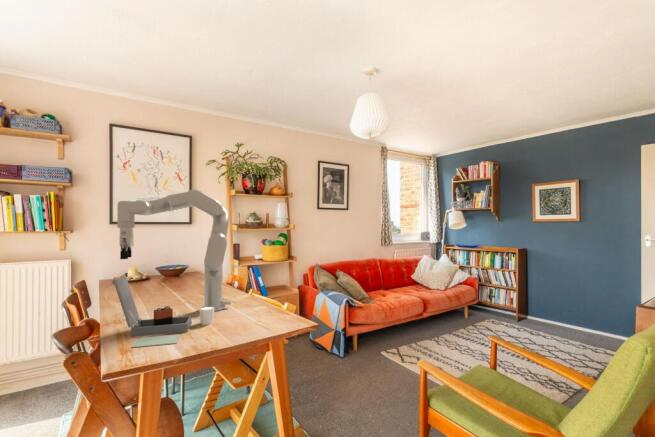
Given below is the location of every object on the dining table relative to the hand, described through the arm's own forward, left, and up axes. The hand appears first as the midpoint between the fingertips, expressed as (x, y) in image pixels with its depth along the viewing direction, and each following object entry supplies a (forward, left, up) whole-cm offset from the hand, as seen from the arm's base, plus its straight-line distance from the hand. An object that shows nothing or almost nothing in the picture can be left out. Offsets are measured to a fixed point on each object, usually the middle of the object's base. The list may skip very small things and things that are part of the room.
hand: (126, 258), depth 164 cm
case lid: (-9, +28, -16) cm, 33 cm away
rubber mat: (-24, +43, -30) cm, 58 cm away
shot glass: (-41, +23, -30) cm, 56 cm away
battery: (-23, +28, -30) cm, 47 cm away
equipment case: (-23, +28, -30) cm, 47 cm away
